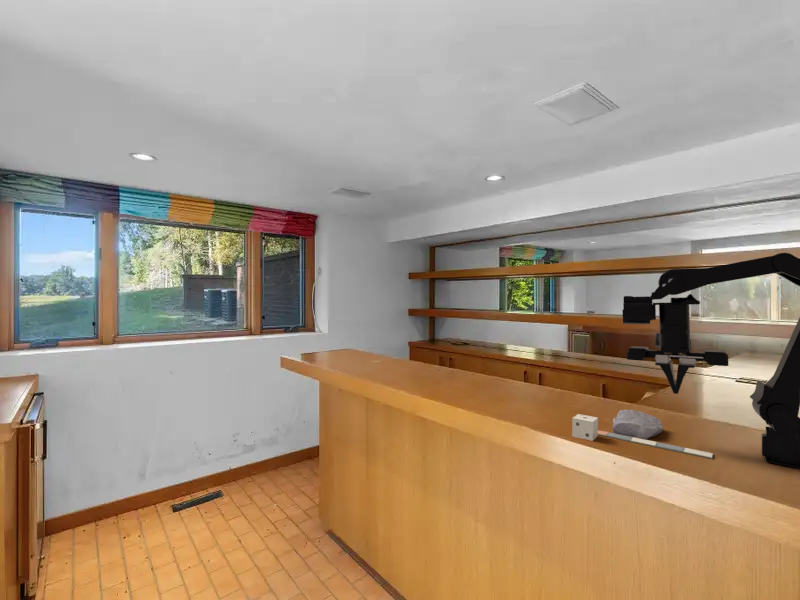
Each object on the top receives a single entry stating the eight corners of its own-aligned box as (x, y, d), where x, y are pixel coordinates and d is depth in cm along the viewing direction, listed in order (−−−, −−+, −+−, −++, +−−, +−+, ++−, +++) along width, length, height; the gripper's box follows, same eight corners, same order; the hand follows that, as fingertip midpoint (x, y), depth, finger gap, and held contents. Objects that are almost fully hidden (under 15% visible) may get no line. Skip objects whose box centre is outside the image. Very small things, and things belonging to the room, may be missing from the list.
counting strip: (713, 454, 84) (713, 453, 84) (712, 458, 82) (712, 457, 82) (587, 429, 101) (587, 427, 101) (583, 431, 98) (583, 430, 98)
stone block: (661, 436, 101) (618, 421, 107) (665, 419, 101) (622, 404, 107) (655, 451, 92) (608, 434, 98) (660, 432, 91) (613, 415, 97)
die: (597, 436, 96) (597, 417, 96) (592, 441, 92) (592, 421, 92) (577, 432, 98) (577, 413, 98) (571, 436, 95) (572, 417, 95)
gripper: (726, 323, 91) (728, 392, 91) (633, 322, 103) (634, 383, 103) (727, 326, 83) (729, 401, 82) (625, 324, 94) (626, 390, 94)
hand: (675, 393), depth 91 cm, fingers closed
